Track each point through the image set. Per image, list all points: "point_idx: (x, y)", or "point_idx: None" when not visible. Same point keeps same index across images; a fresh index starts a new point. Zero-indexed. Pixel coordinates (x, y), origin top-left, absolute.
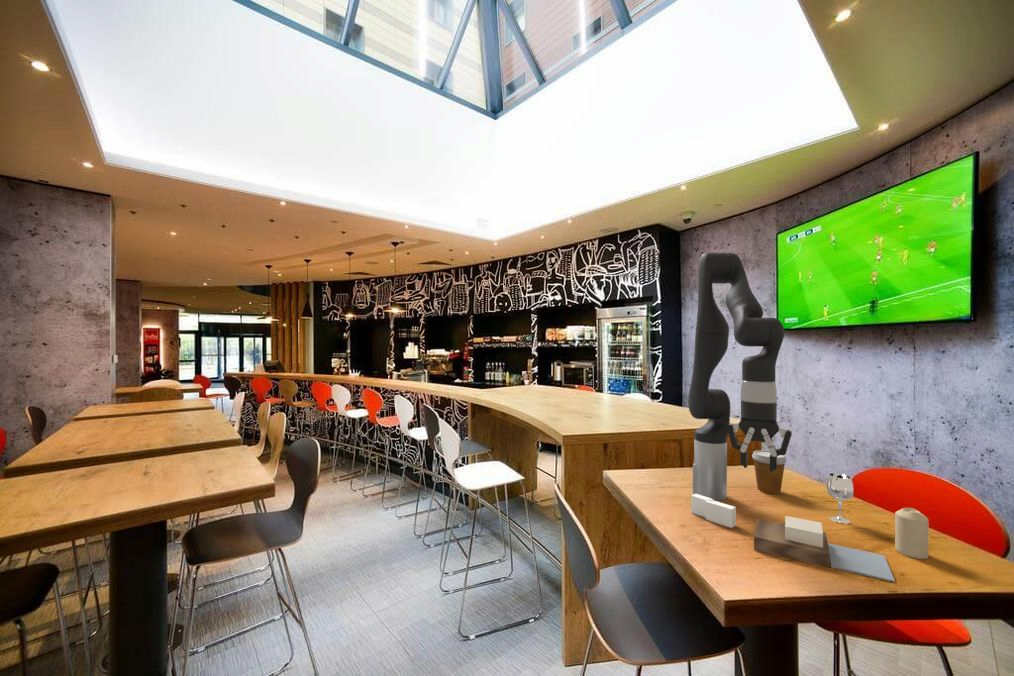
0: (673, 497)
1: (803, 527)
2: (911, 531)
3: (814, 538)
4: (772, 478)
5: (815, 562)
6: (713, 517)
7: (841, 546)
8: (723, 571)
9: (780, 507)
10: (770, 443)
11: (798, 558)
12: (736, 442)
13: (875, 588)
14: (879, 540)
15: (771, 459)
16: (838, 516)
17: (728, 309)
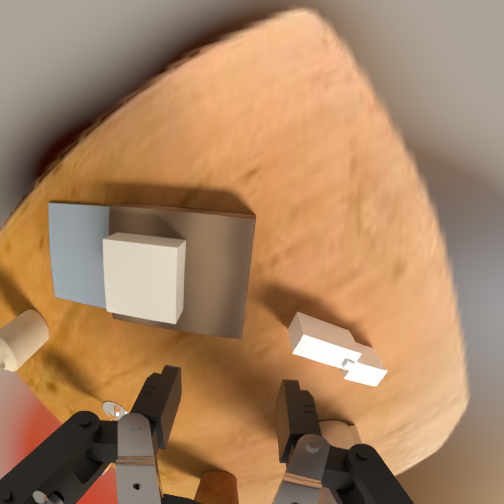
0: (393, 398)
1: (137, 261)
2: (11, 328)
3: (124, 237)
4: (210, 491)
5: (141, 204)
6: (336, 330)
7: (101, 306)
8: (318, 82)
9: (199, 435)
10: (127, 476)
11: (169, 206)
12: (359, 478)
13: (73, 163)
14: (66, 356)
15: (155, 405)
16: (114, 415)
17: None
